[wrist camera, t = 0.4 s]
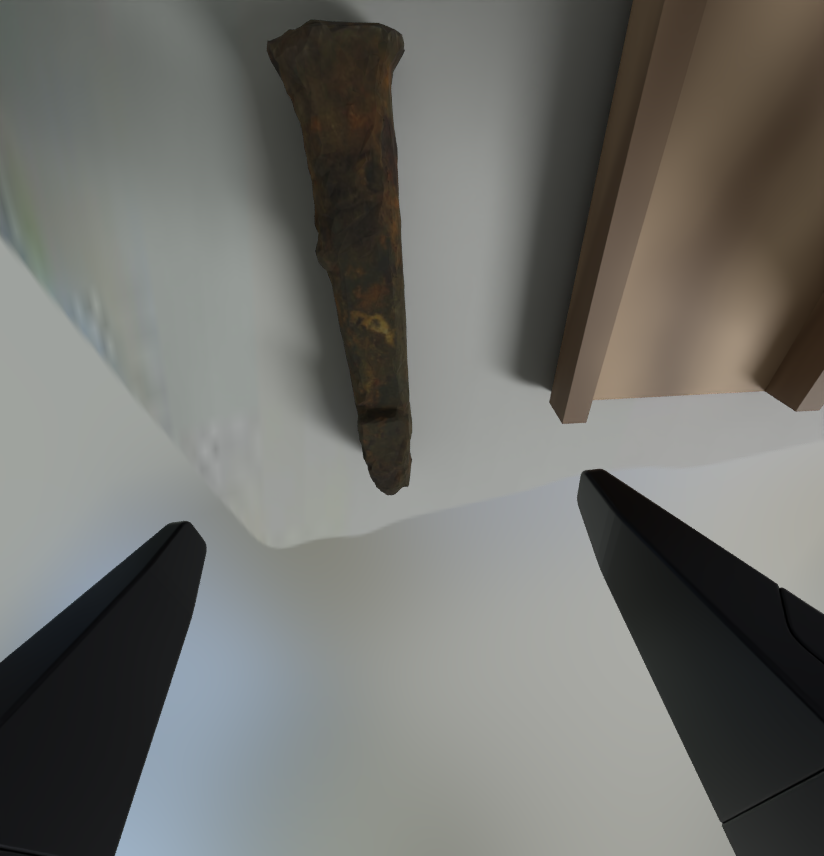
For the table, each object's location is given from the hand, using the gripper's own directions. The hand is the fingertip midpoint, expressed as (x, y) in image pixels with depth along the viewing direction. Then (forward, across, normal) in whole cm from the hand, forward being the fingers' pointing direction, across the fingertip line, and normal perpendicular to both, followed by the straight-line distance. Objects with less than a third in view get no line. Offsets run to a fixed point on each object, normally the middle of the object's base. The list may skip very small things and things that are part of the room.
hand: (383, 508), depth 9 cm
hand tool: (+13, 0, 0) cm, 13 cm away
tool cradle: (+12, -15, -2) cm, 20 cm away
